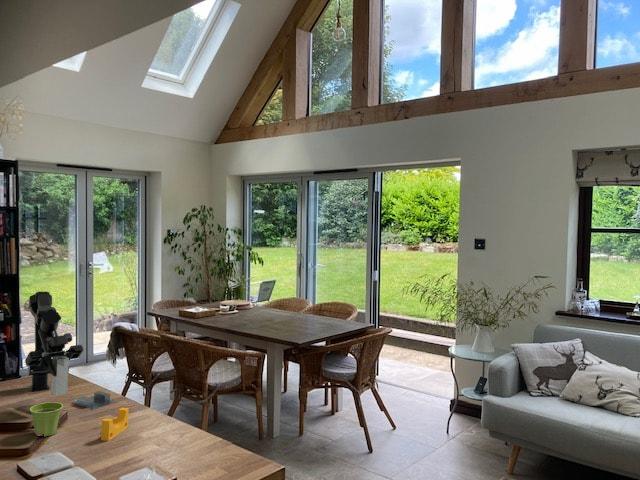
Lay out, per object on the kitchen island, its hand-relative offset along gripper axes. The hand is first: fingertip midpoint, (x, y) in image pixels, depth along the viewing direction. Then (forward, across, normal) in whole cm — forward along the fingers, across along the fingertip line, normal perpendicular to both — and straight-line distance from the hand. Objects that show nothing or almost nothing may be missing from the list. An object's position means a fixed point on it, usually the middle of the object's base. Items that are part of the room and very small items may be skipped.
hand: (61, 374), depth 182 cm
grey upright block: (+5, 0, +5) cm, 7 cm away
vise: (+11, +12, +8) cm, 18 cm away
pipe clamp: (+31, +4, -12) cm, 33 cm away
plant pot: (+21, -12, -2) cm, 24 cm away
